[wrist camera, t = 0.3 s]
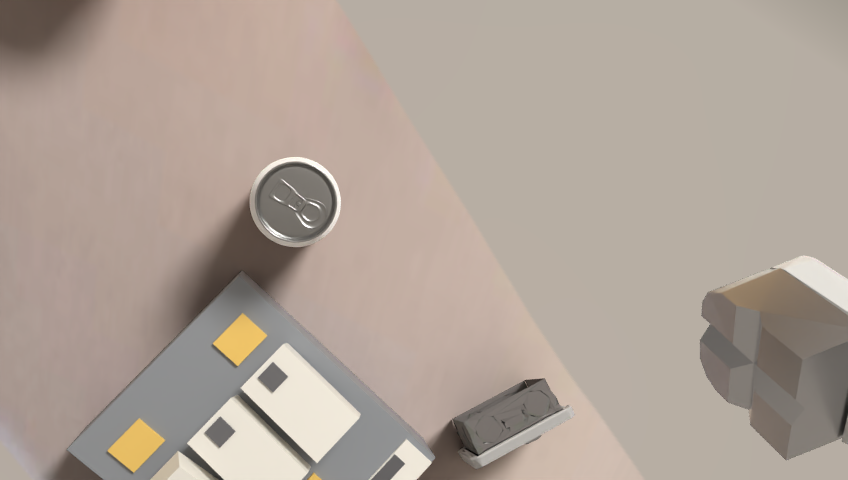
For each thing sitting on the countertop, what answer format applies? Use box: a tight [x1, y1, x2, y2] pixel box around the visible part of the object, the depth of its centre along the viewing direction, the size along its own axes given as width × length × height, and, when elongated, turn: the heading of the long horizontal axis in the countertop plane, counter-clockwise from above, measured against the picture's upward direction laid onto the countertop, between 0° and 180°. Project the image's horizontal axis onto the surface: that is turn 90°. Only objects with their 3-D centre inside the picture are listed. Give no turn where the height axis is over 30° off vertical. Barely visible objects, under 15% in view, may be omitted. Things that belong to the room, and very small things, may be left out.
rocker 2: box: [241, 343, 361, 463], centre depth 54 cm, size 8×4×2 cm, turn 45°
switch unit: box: [67, 271, 436, 480], centre depth 58 cm, size 22×18×6 cm
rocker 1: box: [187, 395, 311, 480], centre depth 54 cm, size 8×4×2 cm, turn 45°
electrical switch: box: [452, 378, 575, 469], centre depth 61 cm, size 9×5×9 cm, turn 115°
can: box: [250, 157, 341, 247], centre depth 55 cm, size 6×6×12 cm
